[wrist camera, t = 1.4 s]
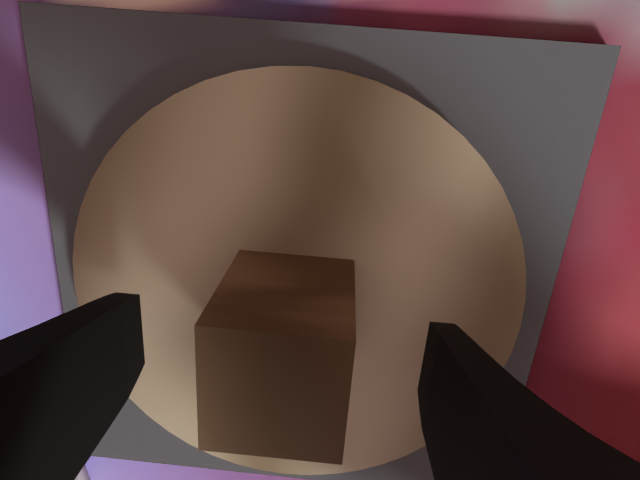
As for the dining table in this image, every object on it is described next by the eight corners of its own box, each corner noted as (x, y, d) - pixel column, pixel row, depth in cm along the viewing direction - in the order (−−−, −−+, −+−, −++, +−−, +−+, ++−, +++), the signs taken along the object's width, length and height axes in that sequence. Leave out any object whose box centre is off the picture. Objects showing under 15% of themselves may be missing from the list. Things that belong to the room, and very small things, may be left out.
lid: (568, 85, 12) (706, 97, 7) (471, 473, 16) (517, 630, 12) (61, 47, 12) (-113, 36, 7) (108, 437, 17) (19, 574, 12)
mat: (608, 46, 12) (621, 45, 11) (489, 484, 17) (493, 498, 16) (33, 4, 12) (18, 1, 12) (92, 442, 18) (84, 455, 17)
